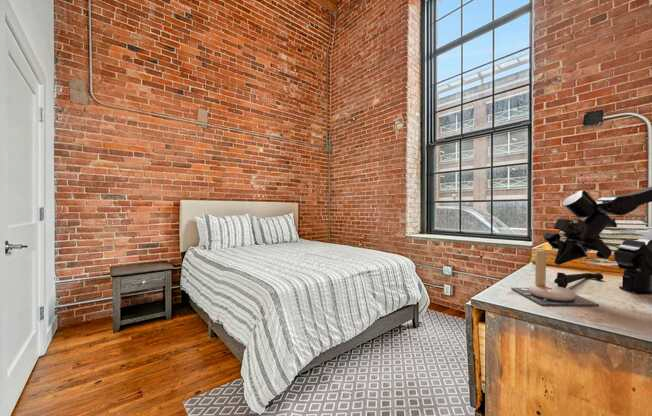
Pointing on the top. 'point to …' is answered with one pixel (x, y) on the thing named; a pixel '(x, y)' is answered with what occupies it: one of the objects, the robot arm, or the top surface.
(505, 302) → the top surface
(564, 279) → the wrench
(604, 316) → the top surface
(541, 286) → the beige stand
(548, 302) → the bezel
